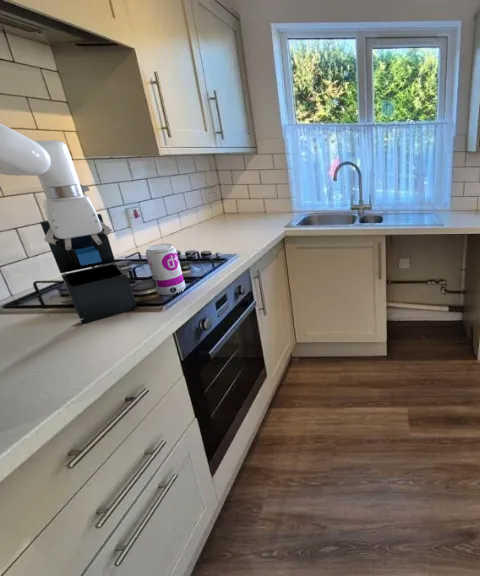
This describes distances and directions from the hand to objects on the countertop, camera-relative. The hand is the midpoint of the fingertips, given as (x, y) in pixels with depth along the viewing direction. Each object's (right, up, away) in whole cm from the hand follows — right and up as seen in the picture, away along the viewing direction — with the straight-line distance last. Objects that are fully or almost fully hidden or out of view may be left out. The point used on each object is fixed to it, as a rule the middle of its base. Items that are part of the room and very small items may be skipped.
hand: (88, 259), depth 99 cm
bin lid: (-5, +5, +3) cm, 7 cm away
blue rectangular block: (0, 0, 0) cm, 0 cm away
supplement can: (+12, -9, +18) cm, 24 cm away
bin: (-1, -14, +7) cm, 16 cm away
